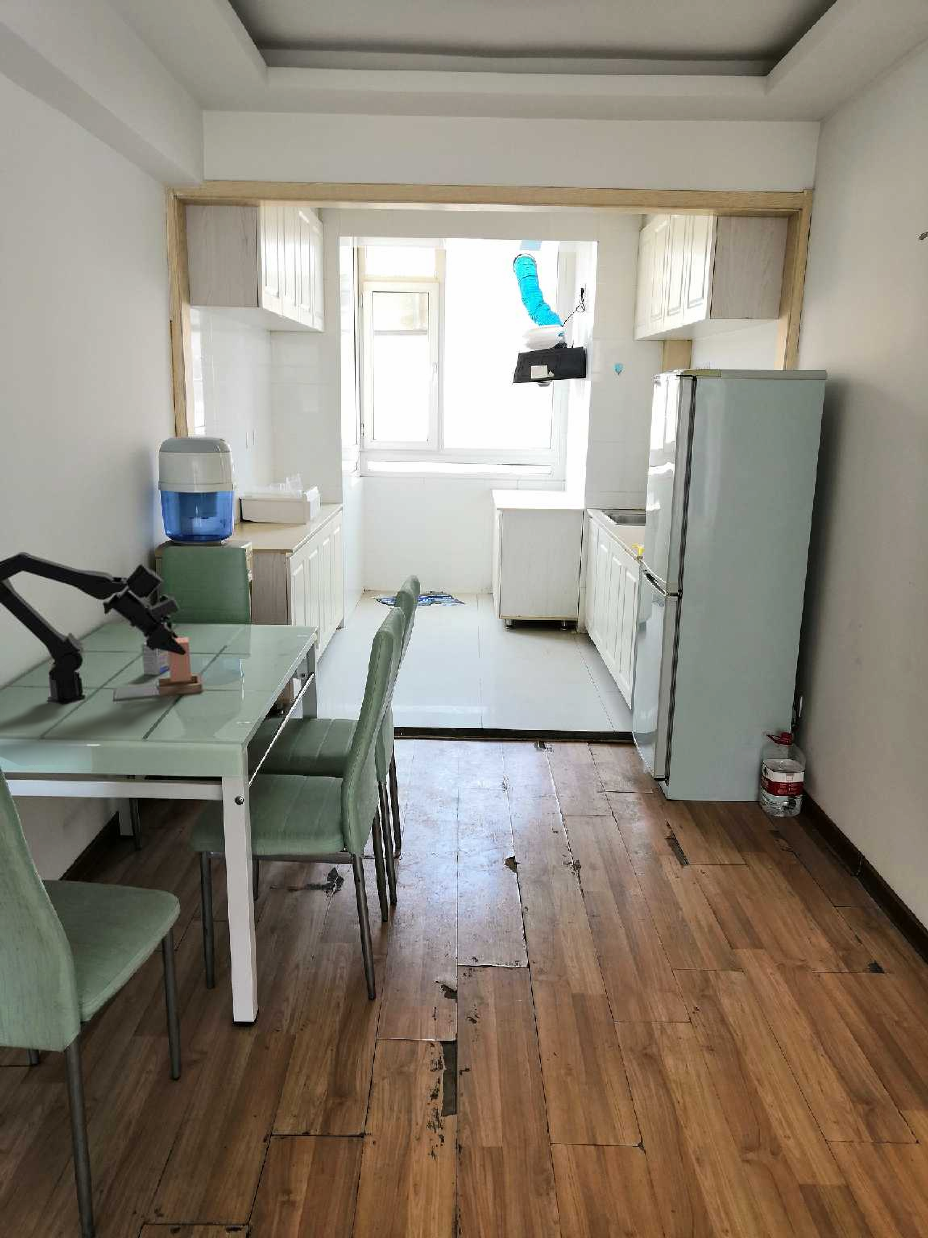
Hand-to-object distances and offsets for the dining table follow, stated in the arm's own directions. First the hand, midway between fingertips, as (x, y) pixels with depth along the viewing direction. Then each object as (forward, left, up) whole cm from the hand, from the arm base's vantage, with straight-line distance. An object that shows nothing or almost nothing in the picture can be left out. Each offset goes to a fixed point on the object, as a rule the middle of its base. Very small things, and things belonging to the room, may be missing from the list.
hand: (184, 650), depth 236 cm
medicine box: (+5, +19, -10) cm, 22 cm away
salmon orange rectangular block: (-1, +1, -7) cm, 7 cm away
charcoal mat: (-10, +7, -10) cm, 16 cm away
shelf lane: (-1, +1, -10) cm, 10 cm away
